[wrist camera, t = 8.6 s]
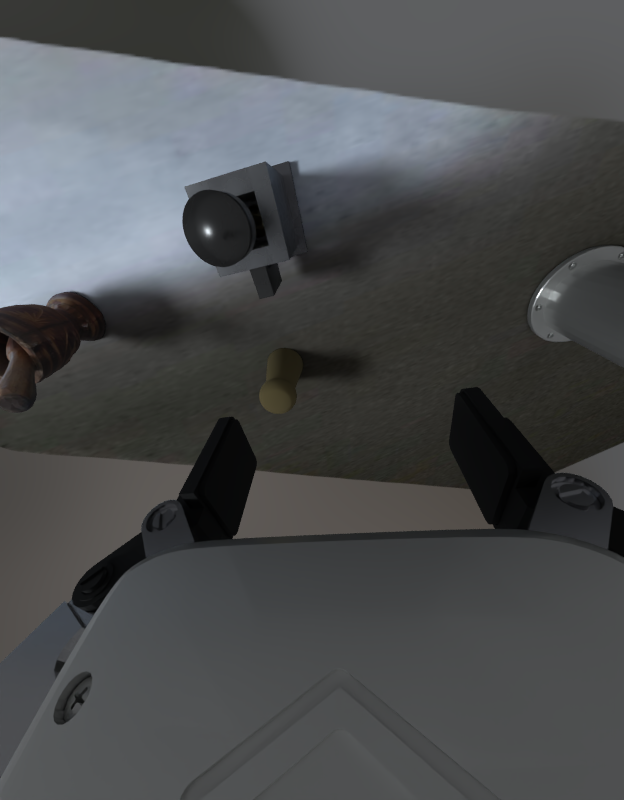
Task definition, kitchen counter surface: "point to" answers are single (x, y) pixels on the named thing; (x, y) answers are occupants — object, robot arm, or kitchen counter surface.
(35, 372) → the mortar and pestle
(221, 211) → the plunger
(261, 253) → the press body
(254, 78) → the kitchen counter surface
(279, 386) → the cork
